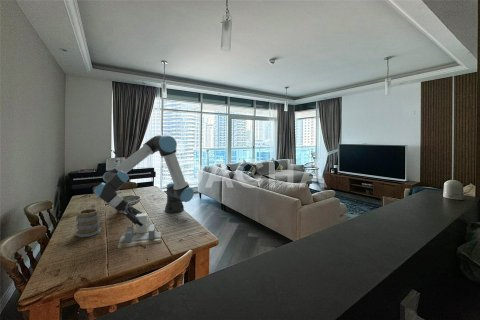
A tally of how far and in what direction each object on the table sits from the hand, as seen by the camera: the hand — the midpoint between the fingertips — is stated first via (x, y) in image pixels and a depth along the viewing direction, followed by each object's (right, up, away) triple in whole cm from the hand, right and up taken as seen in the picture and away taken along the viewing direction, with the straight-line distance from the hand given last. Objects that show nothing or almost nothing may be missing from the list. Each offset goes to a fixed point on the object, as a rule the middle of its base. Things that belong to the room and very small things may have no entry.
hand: (146, 224), depth 142 cm
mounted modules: (+2, -3, -13) cm, 14 cm away
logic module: (-3, -4, -1) cm, 5 cm away
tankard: (-36, -4, 0) cm, 36 cm away
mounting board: (+2, -5, -13) cm, 14 cm away
